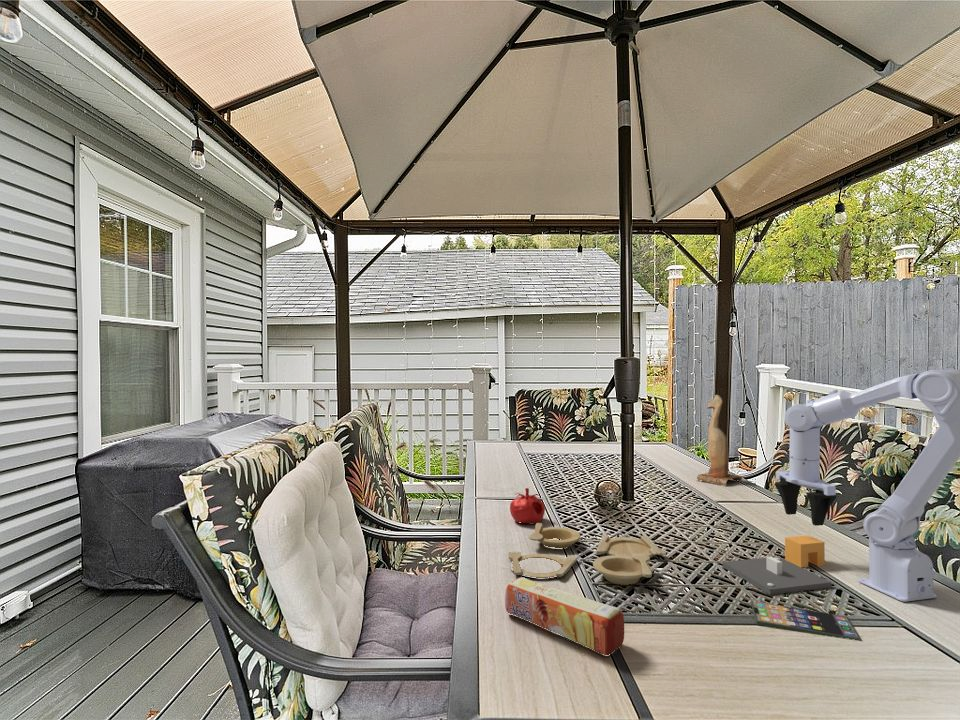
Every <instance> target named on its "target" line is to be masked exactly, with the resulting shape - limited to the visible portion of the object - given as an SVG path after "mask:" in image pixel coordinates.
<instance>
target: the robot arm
mask: <svg viewBox="0 0 960 720" xmlns="http://www.w3.org/2000/svg"><path fill="white" fill-rule="evenodd" d="M898 398H905V399H909V400H914V399H917V400H919V402H922V404H924V406H925V407H926V408H928V409H929V410H930V411H931V413H932V415H933V416H934V418H935V420H936V422H937V424H938V427H937V429H936V430H935V431H934V433H933V434H932V436H931V438H930V439H929V440H928V442H927V444H926V445H925V446H924V447H923V449H922V451H920V453H919V455H918V456H917V458H916V459H915V461H914V463H912V464H911V467H910V468H909V470H908V471H907V472H906V474H905V475H904V477H903V479H902V480H900V483H899V484H898V485H897V487H896V489H895V490H894V491H893V493H892V494H891V495H889V497H888V498H887V499H885V501H884V502H882V503H881V504H880V506H879V507H878V509H876V510H875V511H873V512H870V513H868V514H867V515H866V516H865V517H864V518H863V523H862V524H863V526H862V527H863V530H864V532H865V534H866V535H867V537H868V560H869V561H868V562H869V563H868V565H869V567H868V569H869V571H868V572H869V573H868V574H869V575H868V576H869V577H862V578H858V579H857V581H858V582H859V583H861V584H864V585H866V586H867V587H870V588H872V589H874V590H876V591H878V592H881V593H883V594H884V595H887V596H889V597H891V598H894V599H896V600H899V601H901V602H906V603H907V602H911V601H920V600H929V599H936V598H937V597H938V595H937V594H935V593H934V565H933V561H932V560H931V558H930V556H929V555H928V554H925V553H923V552H922V551H920V550H919V549H918V548H917V545H916V541H915V538H914V535H916V534H917V533H918V532H919V530H920V527H921V518H922V516H923V514H924V513H925V506H926V504H927V503H928V502H929V500H930V499H931V498H932V496H933V495H934V494H935V493H936V490H938V488H939V486H940V485H941V484H942V483H943V481H944V480H945V478H946V477H947V476H948V474H949V473H950V471H951V470H952V469H953V467H955V465H956V463H957V462H958V461H959V459H960V369H957V368H946V369H942V370H940V369H931V370H930V369H929V370H926V371H923V372H921V373H920V372H919V373H914V374H907V375H903V376H899V377H895V378H892V379H890V380H887V381H885V382H881V383H879V384H875V385H873V386H871V387H868V388H865V389H863V390H860V391H857V392H854V393H851V392H848V391H846V390H840V391H838V389H834V390H830V391H828V394H827V395H825V396H822V397H819V398H816V399H815V398H808V399H807V400H806V403H803V404H801V403H795V404H793V405H792V406H790V407H789V408H788V407H787V410H786V411H785V413H784V420H785V423H786V426H788V428H789V457H788V458H789V463H788V464H789V467H788V468H789V470H788V471H787V470H776V471H775V472H776V474H775V475H776V477H775V478H776V479H775V480H779V481H776V482H774V487H775V488H776V489H777V491H778V493H779V495H780V498H781V500H782V504H783V507H784V512H785V514H786V515H788V516H790V515H796V514H797V510H798V499H799V494H800V491H801V488H802V487H803V488H806V489H809V490H812V491H811V492H809V491H808V492H805V493H806V496H807V500H808V501H809V505H810V514H811V516H810V517H811V523H812V525H813V526H815V527H816V526H823V525H824V523H825V520H826V517H827V514H828V512H829V510H830V508H831V506H832V505H833V503H834V501H835V500H836V499H837V494H836V492H837V491H836V490H837V489H836V485H834V484H831V483H828V482H826V481H825V480H823V479H821V476H820V473H821V472H820V471H821V467H820V466H821V465H820V463H821V461H820V460H821V459H820V458H821V453H820V452H821V438H820V437H821V428H822V427H824V426H827V425H831V424H834V423H838V422H841V421H845V420H848V419H850V418H851V419H852V418H855V417H856V416H857V415H858V413H859V411H860V410H861V408H864V407H869V406H873V405H876V404H879V403H884V402H888V401H892V400H894V399H898Z"/></svg>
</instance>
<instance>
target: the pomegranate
mask: <svg viewBox="0 0 960 720" xmlns="http://www.w3.org/2000/svg"><path fill="white" fill-rule="evenodd" d="M524 490H525V495H524V494H522V493H519V492H517V493H516V497H515V498H514V499H513V500H511V502H510V505H509V512H510V515H511V517H512V519H513V520H514V521H515V522H516V521H517V522H516V523H518V522H521V523H538V522H539V523H541V521H542V520H543V519H544V515H545V511H546V506H545V504H544V502H542V499H540V498H538V497H537V496H539V497H541V495H540V494H537V493H536V494H530V488H529V487H525V489H524Z"/></svg>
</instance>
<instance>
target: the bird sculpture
mask: <svg viewBox="0 0 960 720" xmlns="http://www.w3.org/2000/svg"><path fill="white" fill-rule="evenodd" d="M723 404H724V401H723V398H722V397H721V395H719V394H715V395H714V397H713V399H711V400H710V401H708V403H707V405H706V408H707V409H713V412H712V414H711V418H710V421H709V423H708V431H707V446H708V447H707V455H708V460H709V463H711V464H710V466H709V469H708V472H705V473H701V474H698V475H697V476H696V480H697V479H698V480H702V481H706V482H710V483H709V484H712V483H713V485H716V484H717V485H718V486H721V485H724V486H723V487H726V486H727V482H728V480H729V481H730V479H731V480H733V481H734V480H735V481H738V482H741V481H742V480H743V477H742V476H741V475H734V474H729V441H728V437H727V435H726V434H725V432H724V431H723V430H722V429H721V428H720V427H719V420H720V413H721V410H722V407H723ZM702 481H701V482H702ZM706 482H705V483H706Z"/></svg>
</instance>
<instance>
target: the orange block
mask: <svg viewBox="0 0 960 720" xmlns="http://www.w3.org/2000/svg"><path fill="white" fill-rule="evenodd" d="M825 549H826V548H825V541H822V540H820V539H818V538H814V537H813V536H810V535H798V536H790V537H788V536H787V537H784V559H785V560H787V561H789V562H791V563H793V564H795V565H797V566H799V567H801V568H808V567H809V563H811V564H813V565H814V566H817V567H819V566H825V563H826V559H825V555H826V554H825V552H826V551H825Z"/></svg>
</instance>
